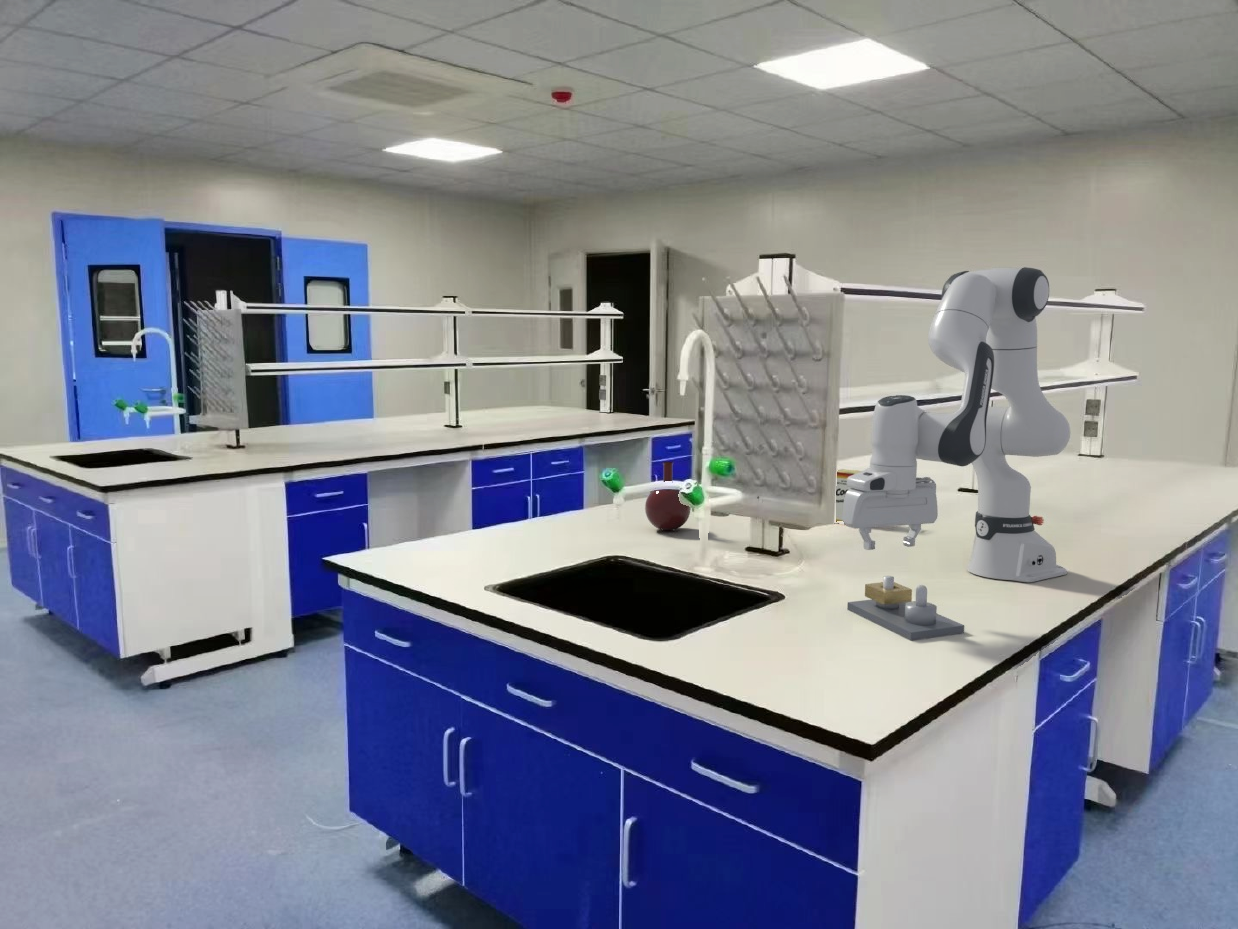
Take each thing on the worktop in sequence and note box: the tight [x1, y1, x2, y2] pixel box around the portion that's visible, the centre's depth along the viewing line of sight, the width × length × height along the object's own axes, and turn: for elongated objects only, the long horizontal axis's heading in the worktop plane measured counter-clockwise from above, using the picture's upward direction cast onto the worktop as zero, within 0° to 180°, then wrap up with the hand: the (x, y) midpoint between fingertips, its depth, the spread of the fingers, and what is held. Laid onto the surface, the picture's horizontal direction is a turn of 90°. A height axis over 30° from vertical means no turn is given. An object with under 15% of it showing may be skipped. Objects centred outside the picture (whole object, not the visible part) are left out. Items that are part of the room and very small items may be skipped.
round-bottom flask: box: [644, 461, 691, 531], centre depth 253 cm, size 13×13×20 cm
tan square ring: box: [864, 581, 913, 605], centre depth 175 cm, size 6×6×2 cm
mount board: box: [846, 575, 965, 641], centre depth 170 cm, size 12×20×8 cm, turn 20°
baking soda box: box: [836, 468, 862, 522], centre depth 262 cm, size 10×6×16 cm
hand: (889, 547), depth 174 cm, fingers open, 8 cm apart
